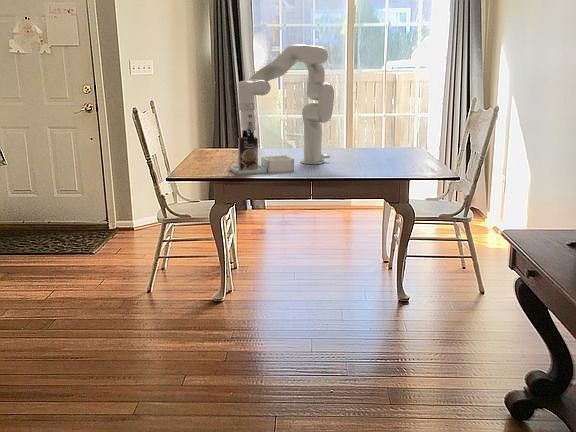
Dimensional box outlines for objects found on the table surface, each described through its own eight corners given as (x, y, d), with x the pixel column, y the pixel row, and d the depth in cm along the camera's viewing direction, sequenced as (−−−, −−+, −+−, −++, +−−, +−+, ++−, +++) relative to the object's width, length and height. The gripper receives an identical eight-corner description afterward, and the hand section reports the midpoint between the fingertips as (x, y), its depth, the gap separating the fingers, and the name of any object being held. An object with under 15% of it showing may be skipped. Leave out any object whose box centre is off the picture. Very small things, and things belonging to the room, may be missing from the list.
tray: (258, 168, 295) (258, 164, 295) (266, 173, 283) (266, 169, 282) (230, 169, 291) (229, 166, 290) (236, 175, 278) (236, 171, 277)
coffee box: (240, 171, 283) (239, 138, 278) (238, 169, 289) (237, 137, 284) (258, 170, 285) (257, 138, 280) (256, 168, 291) (255, 136, 286)
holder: (286, 166, 299) (286, 155, 297) (293, 170, 289) (293, 158, 287) (261, 168, 295) (261, 156, 293) (268, 172, 284) (267, 160, 283)
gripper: (259, 108, 271) (260, 144, 276) (249, 105, 287) (250, 139, 292) (244, 109, 269) (245, 145, 274) (234, 105, 285) (236, 140, 290)
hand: (248, 142), depth 283 cm, fingers open, 9 cm apart
